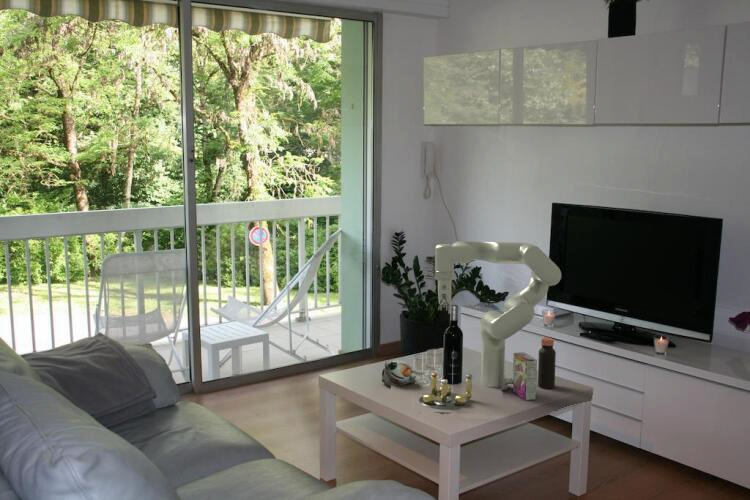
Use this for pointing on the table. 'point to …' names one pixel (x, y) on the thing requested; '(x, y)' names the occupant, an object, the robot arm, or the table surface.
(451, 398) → the tribrach plate
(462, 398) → the gold bent piece
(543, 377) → the bottle
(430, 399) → the gold l-shaped fitting
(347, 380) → the table surface
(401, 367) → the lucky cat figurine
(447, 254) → the robot arm
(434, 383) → the gold u-shaped piece
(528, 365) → the candy bar box
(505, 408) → the table surface
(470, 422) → the table surface
